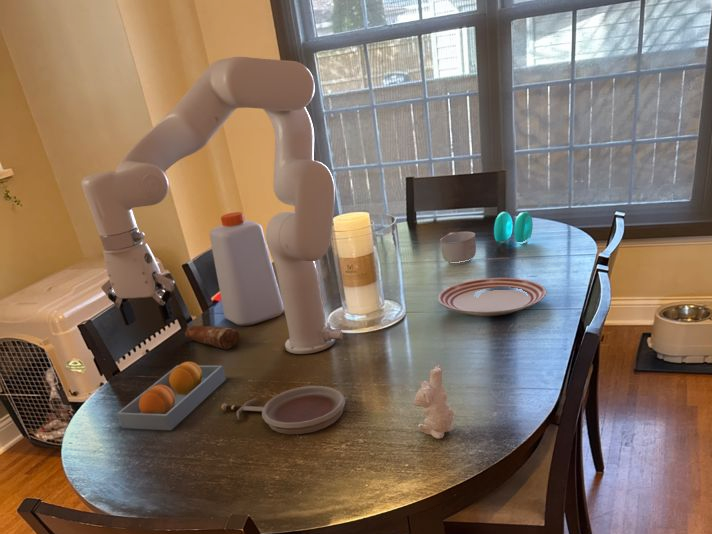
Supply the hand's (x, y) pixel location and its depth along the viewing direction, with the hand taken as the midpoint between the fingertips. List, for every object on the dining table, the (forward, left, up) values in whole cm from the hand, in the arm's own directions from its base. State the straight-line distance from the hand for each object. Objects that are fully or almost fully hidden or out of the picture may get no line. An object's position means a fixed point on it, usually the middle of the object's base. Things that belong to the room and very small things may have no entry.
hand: (150, 322), depth 142 cm
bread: (+7, -30, -18) cm, 36 cm away
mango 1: (-2, +8, -17) cm, 19 cm away
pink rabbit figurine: (-64, +11, -18) cm, 67 cm away
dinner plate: (-63, -56, -18) cm, 86 cm away
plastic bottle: (+4, -51, -18) cm, 54 cm away
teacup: (-46, -97, -18) cm, 109 cm away
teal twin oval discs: (-61, -113, -18) cm, 130 cm away
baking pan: (-2, +2, -18) cm, 18 cm away
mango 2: (-2, -4, -17) cm, 18 cm away
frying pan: (-30, +6, -18) cm, 35 cm away
